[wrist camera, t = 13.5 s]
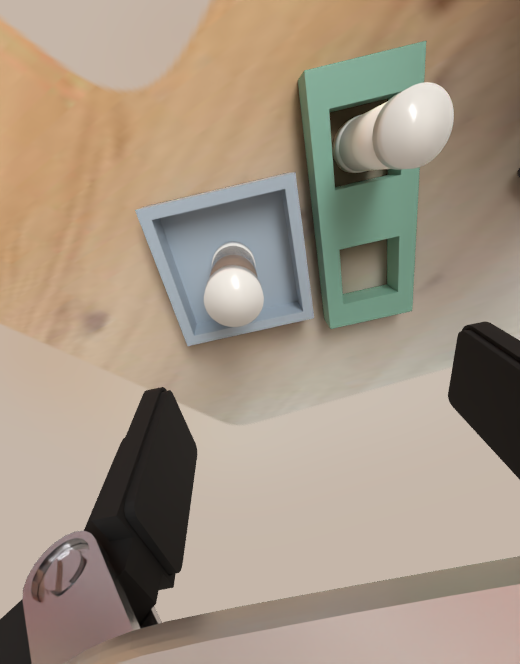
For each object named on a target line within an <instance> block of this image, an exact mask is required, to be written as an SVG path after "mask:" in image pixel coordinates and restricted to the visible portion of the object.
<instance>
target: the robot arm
mask: <svg viewBox="0 0 520 664" xmlns="http://www.w3.org/2000/svg"><path fill="white" fill-rule="evenodd" d="M448 397H449V401H450V403H451V405H452V406H453V407H454V408H455V410H456V411H457V412H458V413H459V414H460V415H461V416H462V417H463V418H464V419H465V420H466V421H467V423H468V424H469V425H470V426H471V427H472V428H473V429H474V430H475V431H476V432H477V434H479V436H480V437H481V438H482V439H483V440H484V441H485V442H486V443H487V444H488V446H489V447H491V449H492V450H493V451H494V452H495V453H496V454H497V455H498V456H499V457H500V459H501V460H502V461H503V462H504V463H505V464H506V465H507V466H508V467H509V468H510V469H511V470H512V472H513V473H514V474H515V475H516V476H517V477H518V478H519V479H520V341H519V340H518V339H516V338H514V337H513V336H511V335H509V334H508V333H506V332H504V331H503V330H501V329H499V328H498V327H496V326H494V325H493V324H491V323H489V322H481V323H476V324H471V325H467V326H465V327H464V328H463V329H462V331H461V332H459V334H458V337H457V344H456V350H455V356H454V362H453V368H452V374H451V380H450V386H449V392H448ZM196 460H197V448H196V444H195V442H194V439H193V437H192V435H191V433H190V431H189V429H188V426H187V424H186V422H185V420H184V417H183V415H182V413H181V411H180V409H179V406H178V404H177V402H176V400H175V397H174V395H173V393H172V392H171V391H170V390H169V391H166V389H165V388H164V387H161V388H156V389H151V390H147V391H145V392H144V394H143V396H142V399H141V401H140V403H139V406H138V408H137V411H136V413H135V415H134V418H133V420H132V423H131V425H130V428H129V431H128V432H127V435H126V437H125V438H124V439H123V440H122V442H121V444H120V447H119V449H118V451H117V453H116V456H115V458H114V460H113V463H112V465H111V468H110V470H109V472H108V475H107V477H106V479H105V482H104V484H103V487H102V489H101V491H100V494H99V496H98V498H97V501H96V503H95V506H94V508H93V510H92V513H91V515H90V517H89V520H88V522H87V525H86V527H85V529H84V531H77V532H73V533H71V534H68V535H66V536H64V537H62V538H61V539H59V540H58V541H56V542H55V543H54V544H53V545H51V546H50V547H49V548H48V549H47V550H46V551H45V552H44V553H43V554H42V556H41V557H40V558H39V559H38V561H37V562H36V563H35V564H34V566H33V568H32V570H31V571H30V573H29V575H28V577H27V579H26V582H25V585H24V588H23V599H22V600H21V601H20V602H19V603H18V604H17V605H16V606H14V607H13V608H12V609H11V610H10V611H9V612H8V613H7V614H6V615H5V616H4V617H3V618H1V619H0V664H520V557H513V558H507V559H502V560H496V561H490V562H485V563H479V564H473V565H467V566H462V567H456V568H451V569H445V570H439V571H433V572H428V573H423V574H417V575H411V576H405V577H400V578H395V579H389V580H383V581H377V582H372V583H366V584H361V585H355V586H349V587H344V588H338V589H333V590H328V591H323V592H317V593H311V594H306V595H301V596H295V597H289V598H284V599H278V600H274V601H268V602H262V603H257V604H251V605H246V606H241V607H235V608H231V609H225V610H221V611H216V612H211V613H206V614H201V615H197V616H192V617H187V618H182V619H177V620H172V621H167V622H164V623H162V622H161V620H160V618H159V616H158V614H157V611H156V610H155V607H154V605H155V604H156V600H157V595H158V590H162V589H167V588H173V587H174V580H175V573H179V572H180V571H181V568H182V563H183V555H184V548H185V541H186V534H187V526H188V519H189V511H190V504H191V496H192V489H193V482H194V475H195V474H194V473H195V467H196Z"/></svg>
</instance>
